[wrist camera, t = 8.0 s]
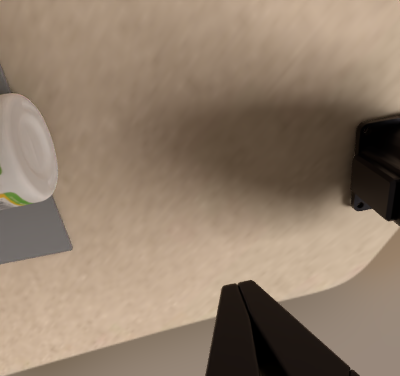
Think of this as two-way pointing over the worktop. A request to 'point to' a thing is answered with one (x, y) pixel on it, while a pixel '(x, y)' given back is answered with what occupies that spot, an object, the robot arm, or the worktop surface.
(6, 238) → the mat
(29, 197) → the supplement bottle
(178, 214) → the worktop surface
